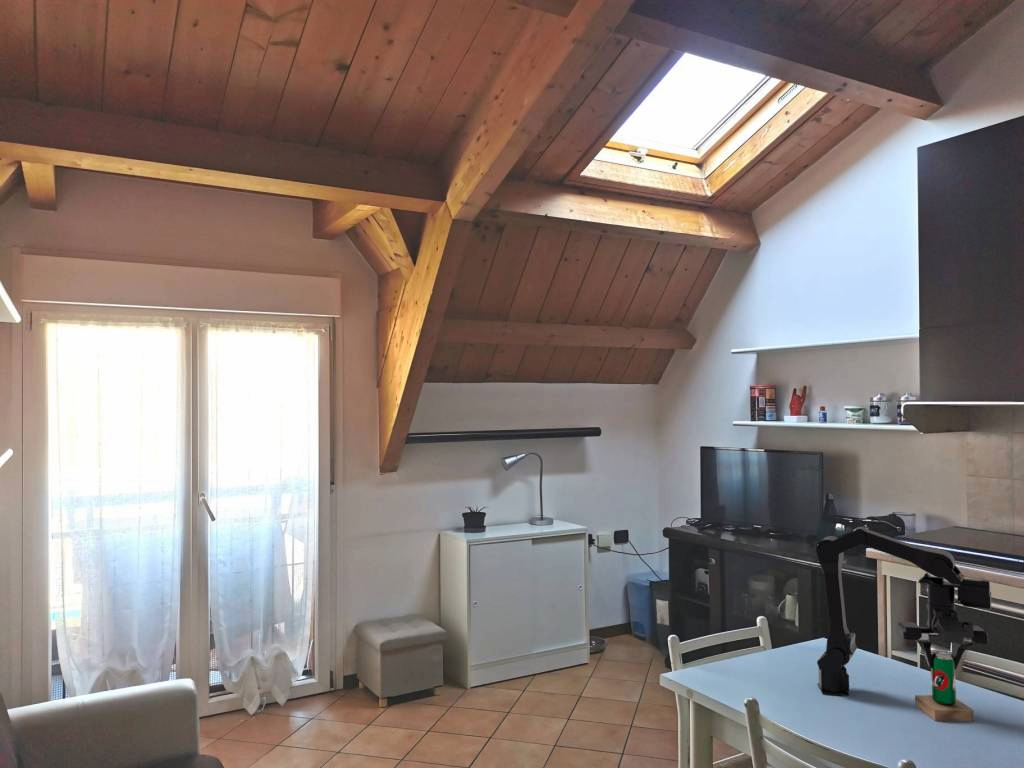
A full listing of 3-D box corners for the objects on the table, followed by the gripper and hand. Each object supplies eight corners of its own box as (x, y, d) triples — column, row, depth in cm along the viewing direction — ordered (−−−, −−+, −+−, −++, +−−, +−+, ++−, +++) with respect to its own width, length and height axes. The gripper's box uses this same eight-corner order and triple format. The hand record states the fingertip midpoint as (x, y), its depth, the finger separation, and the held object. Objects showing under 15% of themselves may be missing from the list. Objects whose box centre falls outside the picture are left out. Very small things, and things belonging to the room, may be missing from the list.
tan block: (935, 720, 176) (934, 710, 176) (915, 705, 185) (914, 695, 185) (973, 721, 175) (973, 710, 175) (951, 705, 184) (951, 695, 184)
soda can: (959, 706, 177) (957, 656, 177) (936, 705, 178) (934, 655, 178) (951, 698, 182) (949, 649, 182) (929, 697, 183) (927, 648, 183)
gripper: (910, 610, 175) (911, 677, 174) (998, 614, 171) (999, 683, 171) (895, 598, 185) (896, 661, 185) (978, 601, 182) (979, 666, 182)
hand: (942, 668), depth 180 cm, fingers closed on soda can, 5 cm apart
